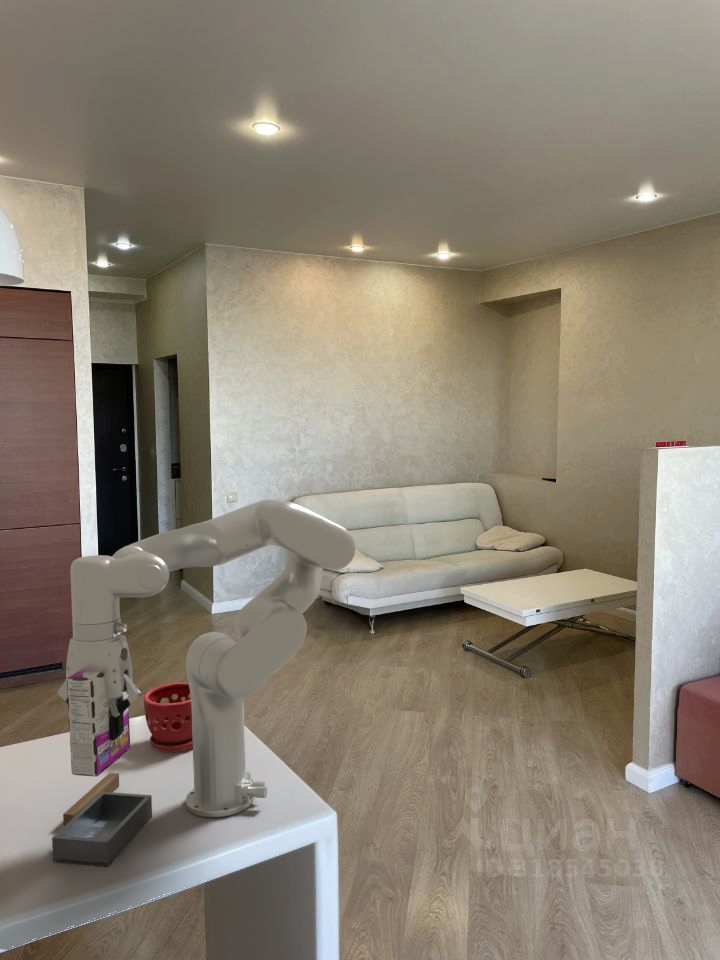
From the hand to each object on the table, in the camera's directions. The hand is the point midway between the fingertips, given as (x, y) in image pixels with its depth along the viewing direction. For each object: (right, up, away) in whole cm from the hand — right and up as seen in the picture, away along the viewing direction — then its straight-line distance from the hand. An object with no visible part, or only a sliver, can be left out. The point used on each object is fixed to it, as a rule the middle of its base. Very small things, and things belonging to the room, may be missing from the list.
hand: (100, 735), depth 125 cm
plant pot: (+3, -16, +39) cm, 42 cm away
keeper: (0, -18, +1) cm, 18 cm away
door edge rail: (-6, -17, +12) cm, 22 cm away
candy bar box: (0, -5, 0) cm, 5 cm away
